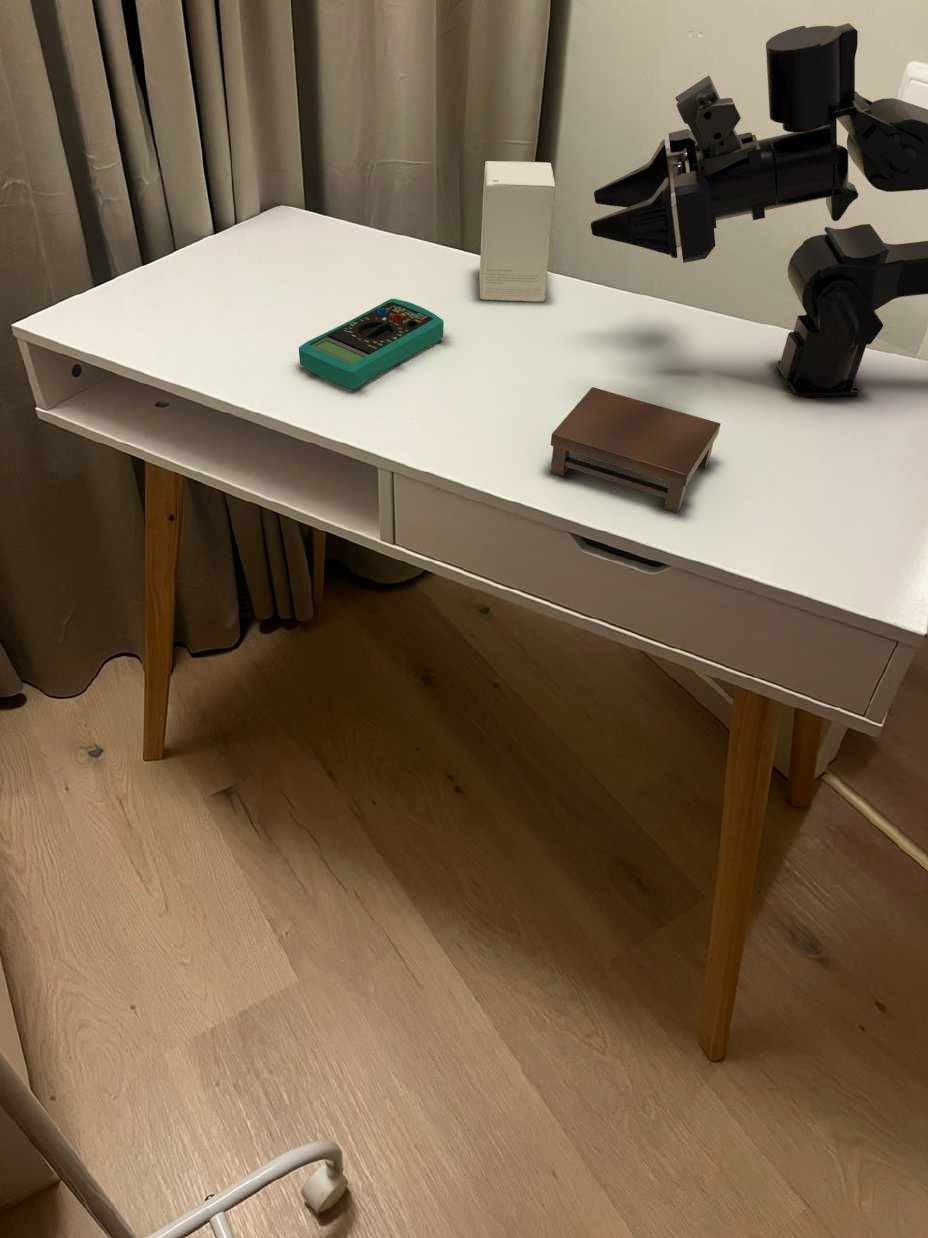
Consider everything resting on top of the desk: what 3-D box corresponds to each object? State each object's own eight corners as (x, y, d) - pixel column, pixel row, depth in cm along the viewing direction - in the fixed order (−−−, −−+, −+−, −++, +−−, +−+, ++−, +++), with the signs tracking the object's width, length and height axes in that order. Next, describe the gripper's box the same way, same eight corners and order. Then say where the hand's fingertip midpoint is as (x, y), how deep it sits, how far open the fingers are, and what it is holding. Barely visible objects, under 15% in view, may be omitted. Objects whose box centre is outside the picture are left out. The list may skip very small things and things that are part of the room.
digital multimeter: (448, 338, 103) (448, 312, 101) (351, 395, 95) (350, 367, 93) (394, 317, 107) (394, 291, 105) (296, 370, 98) (294, 342, 96)
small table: (711, 461, 88) (721, 422, 85) (678, 515, 82) (687, 475, 80) (587, 424, 92) (592, 386, 89) (547, 473, 86) (551, 433, 83)
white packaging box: (545, 303, 110) (556, 185, 101) (478, 300, 110) (484, 183, 101) (542, 274, 115) (552, 160, 107) (479, 271, 115) (483, 158, 107)
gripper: (755, 50, 88) (581, 93, 92) (778, 96, 74) (571, 145, 78) (763, 179, 95) (601, 214, 99) (786, 244, 80) (595, 282, 84)
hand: (593, 212), depth 90 cm, fingers open, 9 cm apart
